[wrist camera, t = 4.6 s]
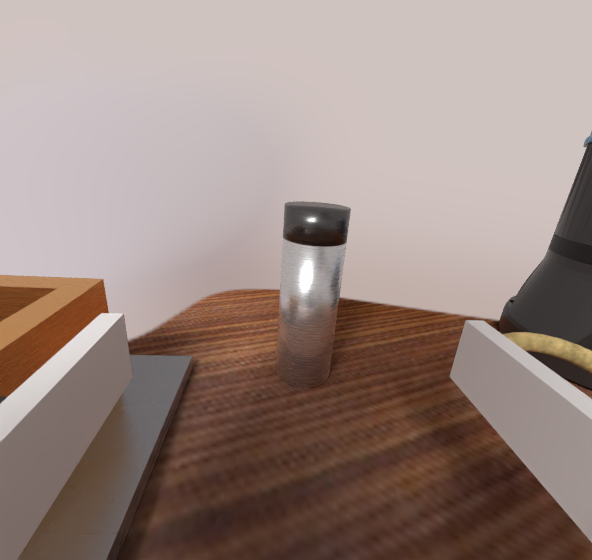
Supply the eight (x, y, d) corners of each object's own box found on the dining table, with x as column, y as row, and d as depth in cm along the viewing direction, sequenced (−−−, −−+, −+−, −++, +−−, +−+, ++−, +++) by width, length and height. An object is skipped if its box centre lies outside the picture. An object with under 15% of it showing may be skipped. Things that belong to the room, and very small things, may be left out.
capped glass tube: (324, 354, 25) (343, 204, 21) (333, 388, 21) (358, 213, 17) (275, 353, 25) (283, 200, 20) (275, 387, 21) (286, 208, 17)
